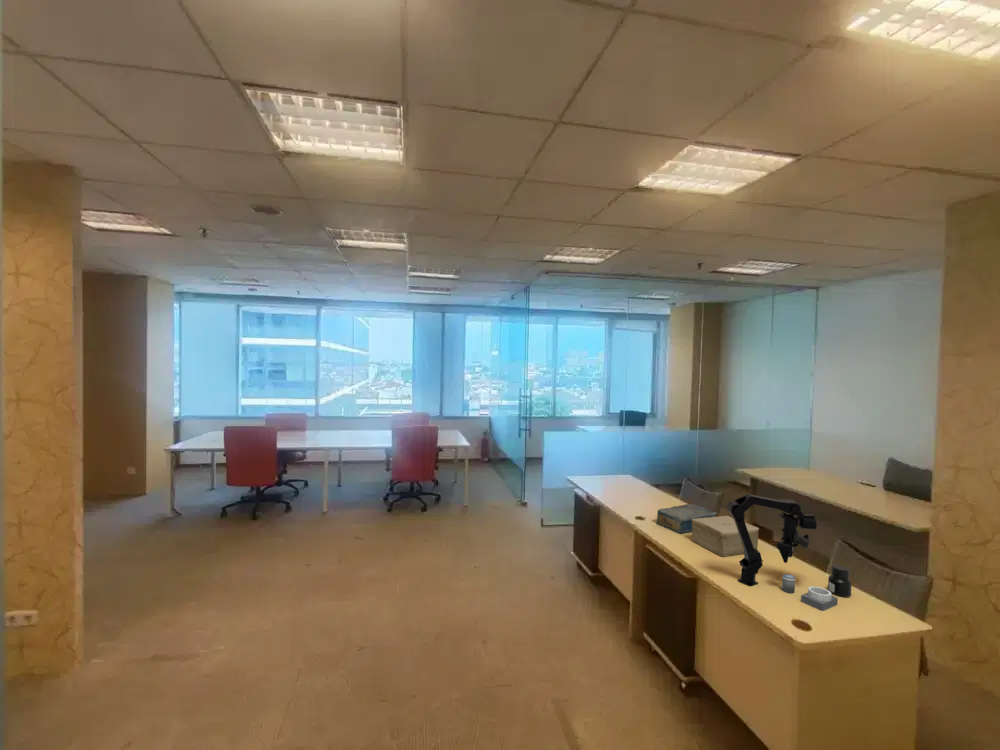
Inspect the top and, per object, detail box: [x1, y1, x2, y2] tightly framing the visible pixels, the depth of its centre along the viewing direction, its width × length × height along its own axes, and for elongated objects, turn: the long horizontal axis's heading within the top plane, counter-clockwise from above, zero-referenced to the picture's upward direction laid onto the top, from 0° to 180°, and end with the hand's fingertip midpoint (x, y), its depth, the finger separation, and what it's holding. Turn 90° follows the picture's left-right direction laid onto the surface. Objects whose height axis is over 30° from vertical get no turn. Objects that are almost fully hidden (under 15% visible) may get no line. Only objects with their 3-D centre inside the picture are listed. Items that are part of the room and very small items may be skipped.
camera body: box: [800, 586, 839, 612], centre depth 218 cm, size 12×9×6 cm
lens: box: [781, 573, 796, 595], centre depth 229 cm, size 5×5×7 cm
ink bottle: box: [827, 564, 853, 598], centre depth 228 cm, size 10×9×12 cm
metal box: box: [656, 503, 718, 535], centre depth 314 cm, size 21×32×10 cm, turn 118°
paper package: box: [691, 515, 760, 557], centre depth 281 cm, size 27×26×14 cm
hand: (787, 560), depth 234 cm, fingers open, 9 cm apart
